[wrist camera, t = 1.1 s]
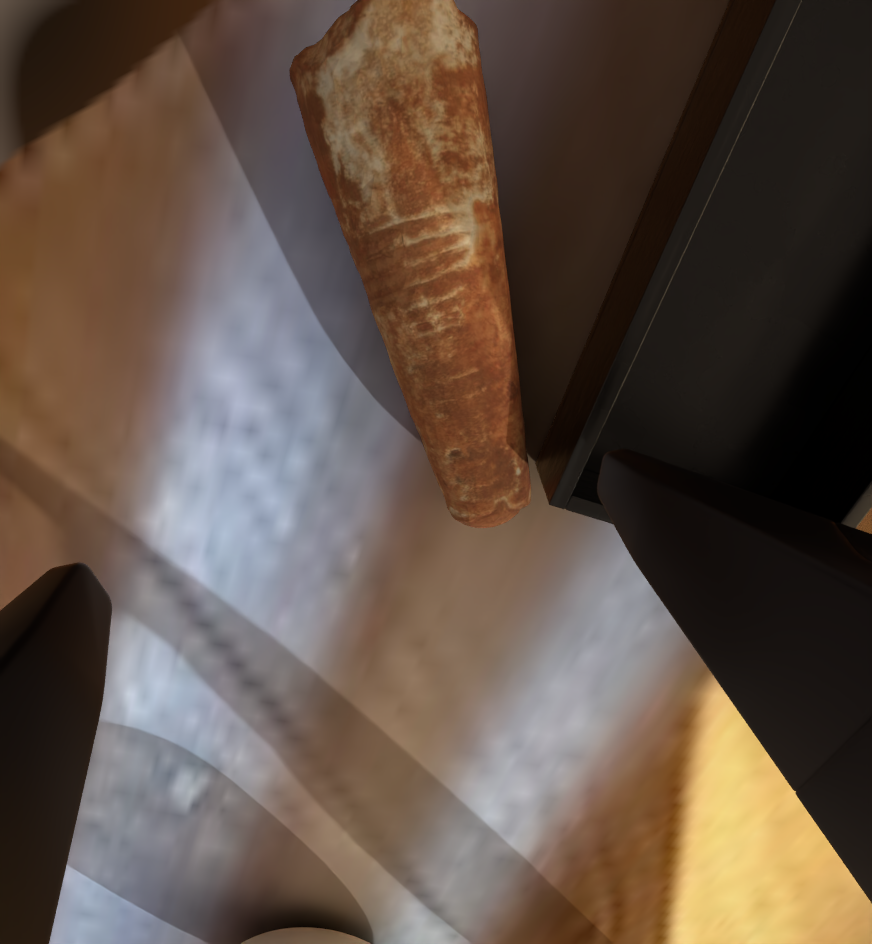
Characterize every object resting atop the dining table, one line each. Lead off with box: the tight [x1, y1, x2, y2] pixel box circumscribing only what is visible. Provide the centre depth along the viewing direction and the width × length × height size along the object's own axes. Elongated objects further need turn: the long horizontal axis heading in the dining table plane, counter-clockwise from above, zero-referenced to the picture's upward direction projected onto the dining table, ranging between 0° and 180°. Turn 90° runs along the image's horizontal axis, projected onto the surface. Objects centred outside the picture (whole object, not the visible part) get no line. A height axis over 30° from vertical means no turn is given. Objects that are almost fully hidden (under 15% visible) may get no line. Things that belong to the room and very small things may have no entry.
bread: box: [290, 0, 531, 528], centre depth 19 cm, size 6×19×6 cm, turn 12°
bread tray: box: [536, 0, 872, 529], centre depth 17 cm, size 12×23×5 cm, turn 163°
